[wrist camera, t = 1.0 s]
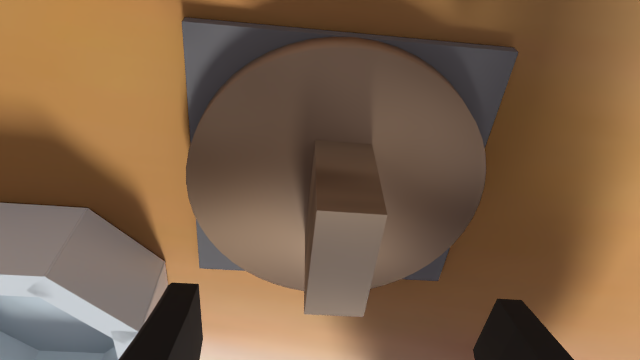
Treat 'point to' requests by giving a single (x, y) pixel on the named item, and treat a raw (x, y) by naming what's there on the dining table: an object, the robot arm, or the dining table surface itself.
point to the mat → (257, 39)
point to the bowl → (71, 284)
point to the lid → (335, 169)
